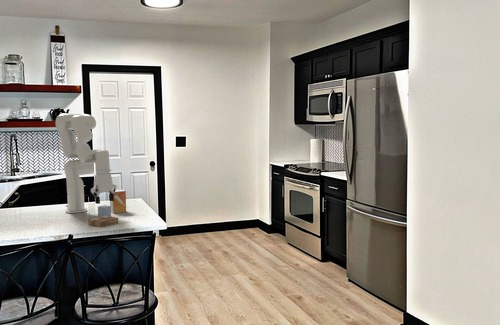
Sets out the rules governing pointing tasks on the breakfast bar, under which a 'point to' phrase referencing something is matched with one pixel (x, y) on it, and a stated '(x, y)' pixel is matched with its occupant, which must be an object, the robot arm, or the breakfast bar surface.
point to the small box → (118, 202)
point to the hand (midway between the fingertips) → (104, 202)
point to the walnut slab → (103, 221)
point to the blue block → (104, 211)
